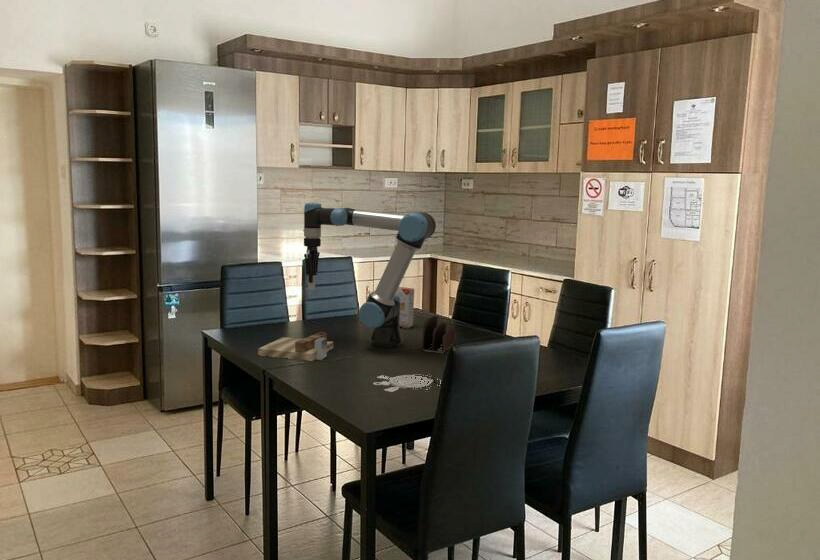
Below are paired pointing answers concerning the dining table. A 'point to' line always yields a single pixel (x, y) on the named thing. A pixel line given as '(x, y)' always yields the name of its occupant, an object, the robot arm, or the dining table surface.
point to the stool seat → (288, 350)
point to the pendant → (405, 382)
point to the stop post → (320, 348)
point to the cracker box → (406, 306)
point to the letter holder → (436, 335)
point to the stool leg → (308, 342)
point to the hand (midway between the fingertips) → (311, 289)
